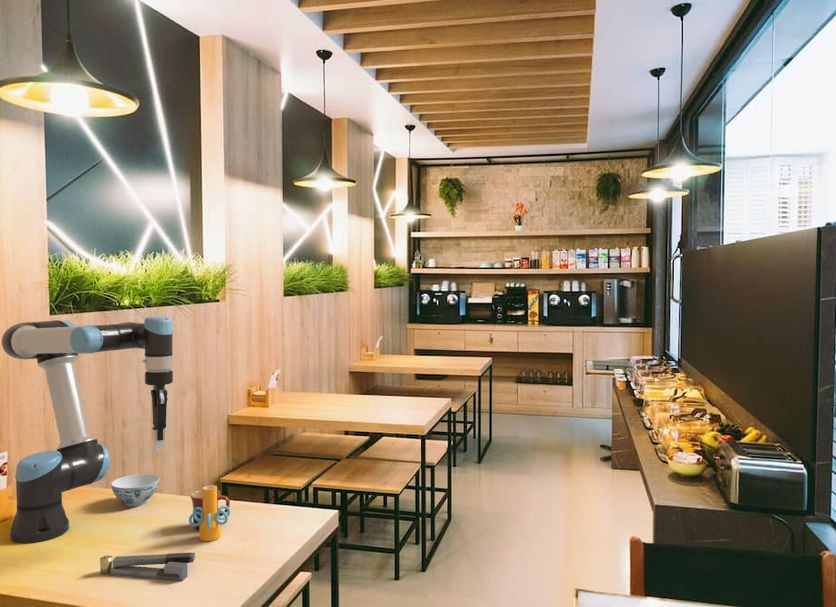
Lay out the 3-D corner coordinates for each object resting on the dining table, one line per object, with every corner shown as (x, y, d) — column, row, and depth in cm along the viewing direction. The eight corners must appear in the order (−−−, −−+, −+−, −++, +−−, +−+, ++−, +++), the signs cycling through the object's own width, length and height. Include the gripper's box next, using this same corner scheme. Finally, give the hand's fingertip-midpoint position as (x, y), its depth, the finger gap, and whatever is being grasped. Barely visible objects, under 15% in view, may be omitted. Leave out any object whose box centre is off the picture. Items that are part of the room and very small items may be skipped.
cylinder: (238, 533, 188) (238, 484, 188) (216, 547, 178) (216, 495, 178) (204, 528, 192) (204, 480, 192) (181, 541, 182) (180, 490, 182)
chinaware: (128, 514, 204) (127, 490, 203) (102, 505, 212) (101, 482, 212) (168, 501, 216) (168, 478, 216) (142, 492, 224) (142, 471, 224)
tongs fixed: (97, 574, 162) (97, 559, 162) (104, 569, 165) (104, 555, 165) (182, 581, 158) (181, 566, 158) (187, 576, 161) (187, 561, 161)
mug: (185, 531, 190) (185, 497, 190) (198, 520, 199) (198, 488, 198) (223, 532, 189) (223, 499, 188) (235, 521, 198) (234, 489, 197)
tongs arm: (112, 567, 162) (112, 560, 162) (116, 562, 165) (115, 556, 165) (192, 562, 165) (192, 556, 164) (195, 558, 167) (195, 552, 167)
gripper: (141, 368, 186) (142, 447, 187) (148, 374, 175) (148, 457, 176) (168, 366, 190) (169, 443, 191) (176, 372, 179) (177, 454, 180)
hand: (159, 450), depth 183 cm, fingers closed
